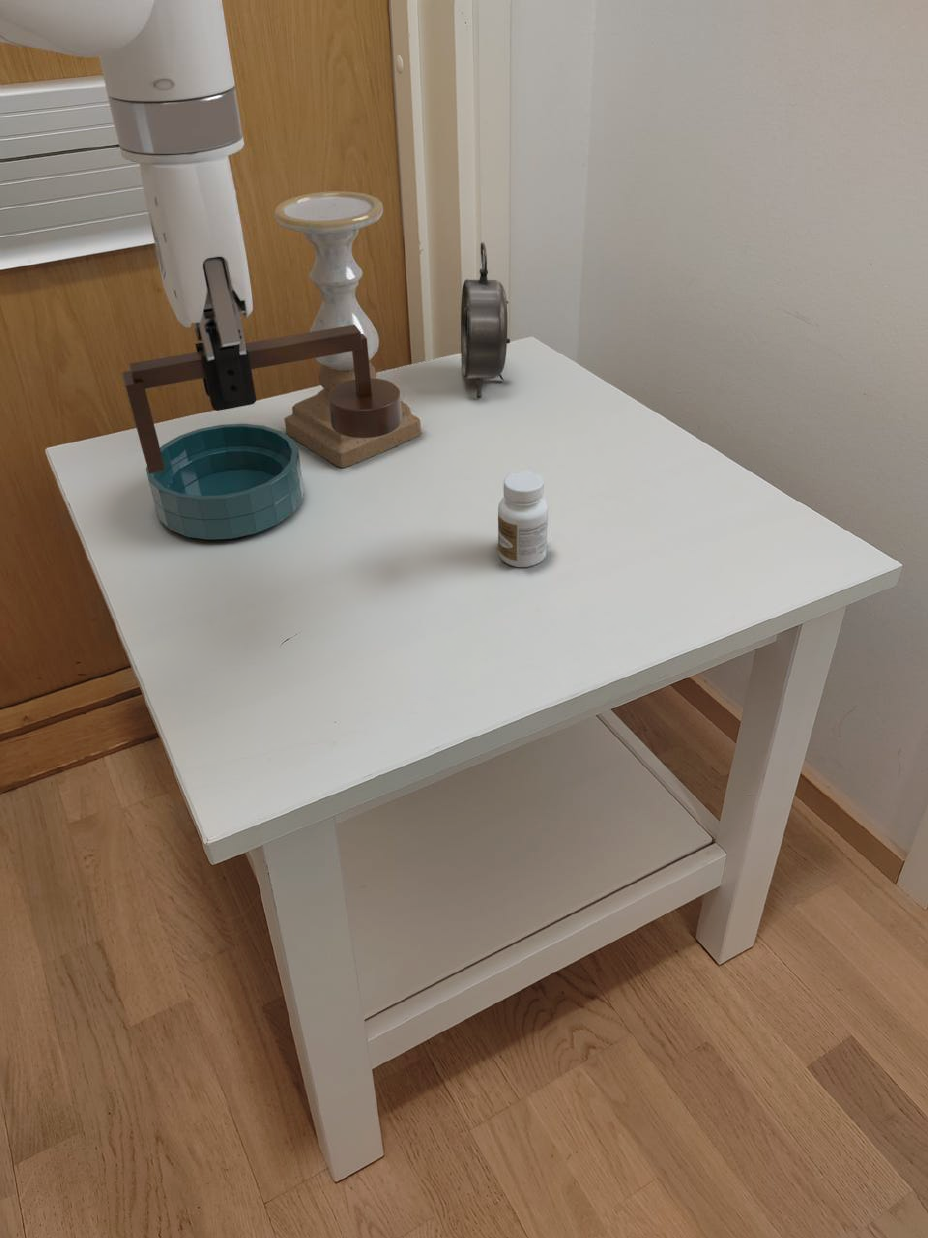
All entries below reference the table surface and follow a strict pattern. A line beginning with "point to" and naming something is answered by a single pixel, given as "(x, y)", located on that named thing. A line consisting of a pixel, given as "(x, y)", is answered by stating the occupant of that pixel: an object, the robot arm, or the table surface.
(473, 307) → the alarm clock
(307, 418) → the candle holder
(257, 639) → the table surface
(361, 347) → the ladle
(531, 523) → the pill bottle
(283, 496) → the bowl
